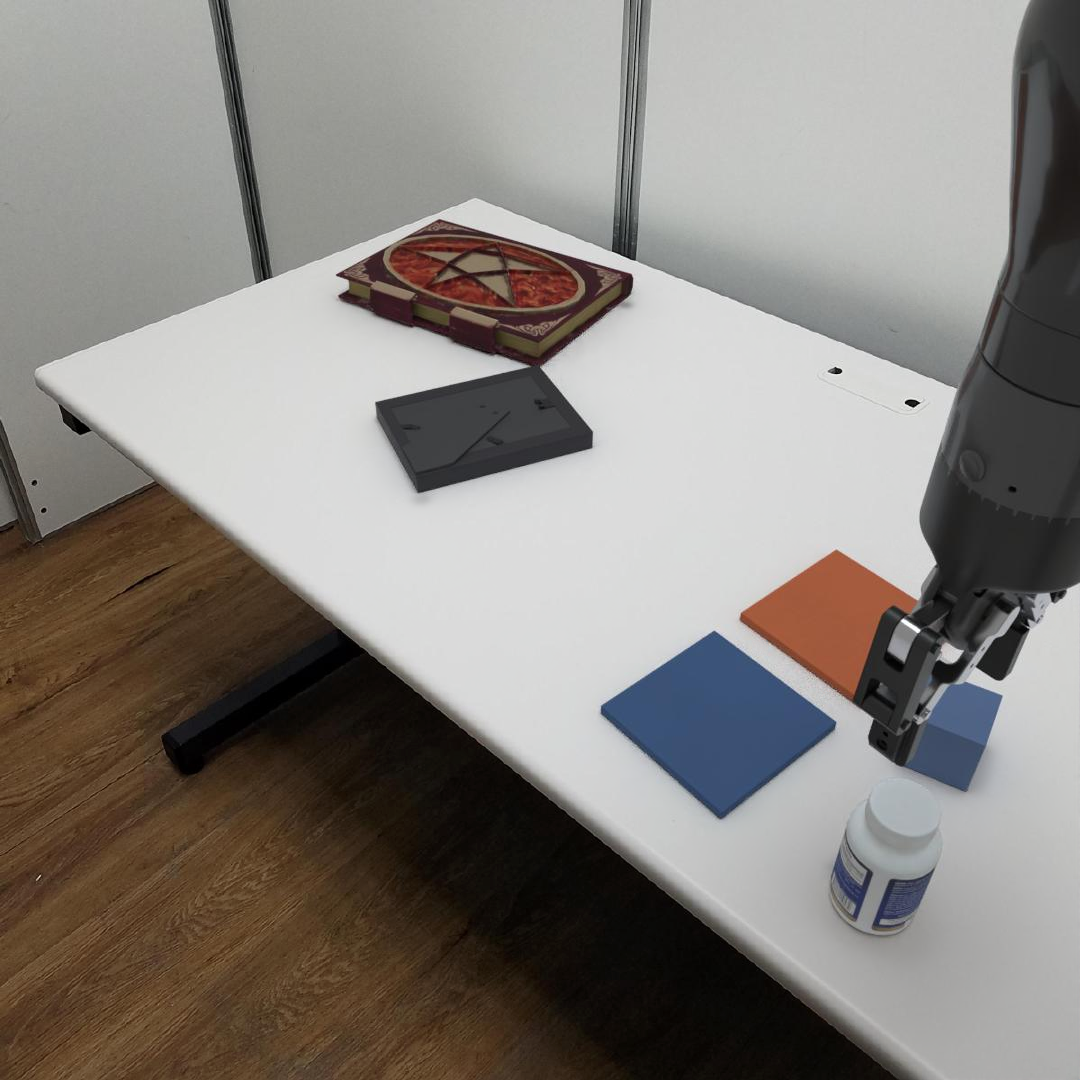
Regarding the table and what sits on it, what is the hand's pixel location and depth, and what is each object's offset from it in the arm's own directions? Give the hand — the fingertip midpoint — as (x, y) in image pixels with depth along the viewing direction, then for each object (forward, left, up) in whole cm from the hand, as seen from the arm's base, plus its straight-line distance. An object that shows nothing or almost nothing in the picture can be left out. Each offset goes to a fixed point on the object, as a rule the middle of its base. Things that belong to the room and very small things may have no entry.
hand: (939, 708), depth 54 cm
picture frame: (+56, -12, -19) cm, 60 cm away
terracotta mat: (+16, -18, -18) cm, 31 cm away
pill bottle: (0, 0, -19) cm, 19 cm away
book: (+78, -29, -19) cm, 85 cm away
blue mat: (+16, -3, -18) cm, 25 cm away
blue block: (+4, -13, -18) cm, 23 cm away
